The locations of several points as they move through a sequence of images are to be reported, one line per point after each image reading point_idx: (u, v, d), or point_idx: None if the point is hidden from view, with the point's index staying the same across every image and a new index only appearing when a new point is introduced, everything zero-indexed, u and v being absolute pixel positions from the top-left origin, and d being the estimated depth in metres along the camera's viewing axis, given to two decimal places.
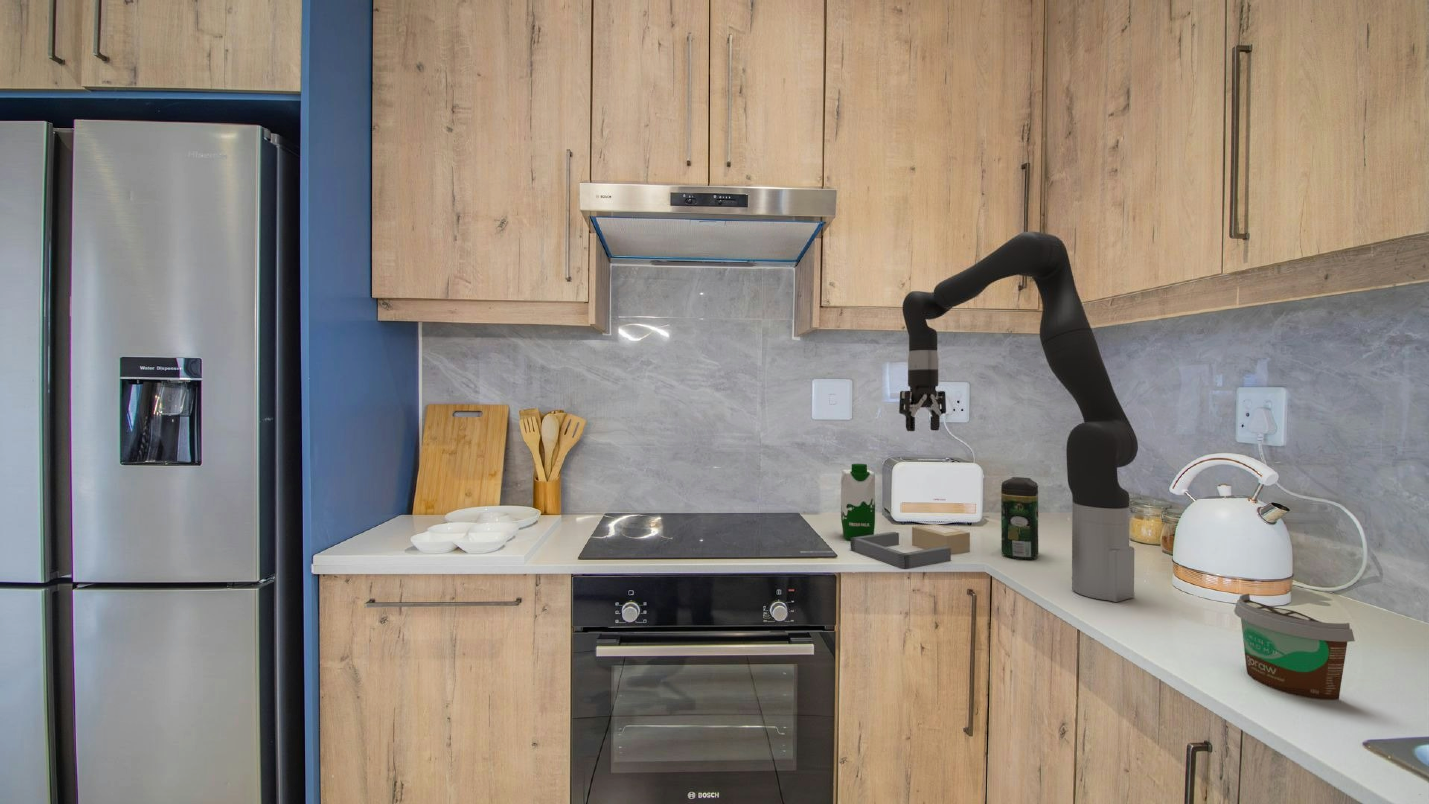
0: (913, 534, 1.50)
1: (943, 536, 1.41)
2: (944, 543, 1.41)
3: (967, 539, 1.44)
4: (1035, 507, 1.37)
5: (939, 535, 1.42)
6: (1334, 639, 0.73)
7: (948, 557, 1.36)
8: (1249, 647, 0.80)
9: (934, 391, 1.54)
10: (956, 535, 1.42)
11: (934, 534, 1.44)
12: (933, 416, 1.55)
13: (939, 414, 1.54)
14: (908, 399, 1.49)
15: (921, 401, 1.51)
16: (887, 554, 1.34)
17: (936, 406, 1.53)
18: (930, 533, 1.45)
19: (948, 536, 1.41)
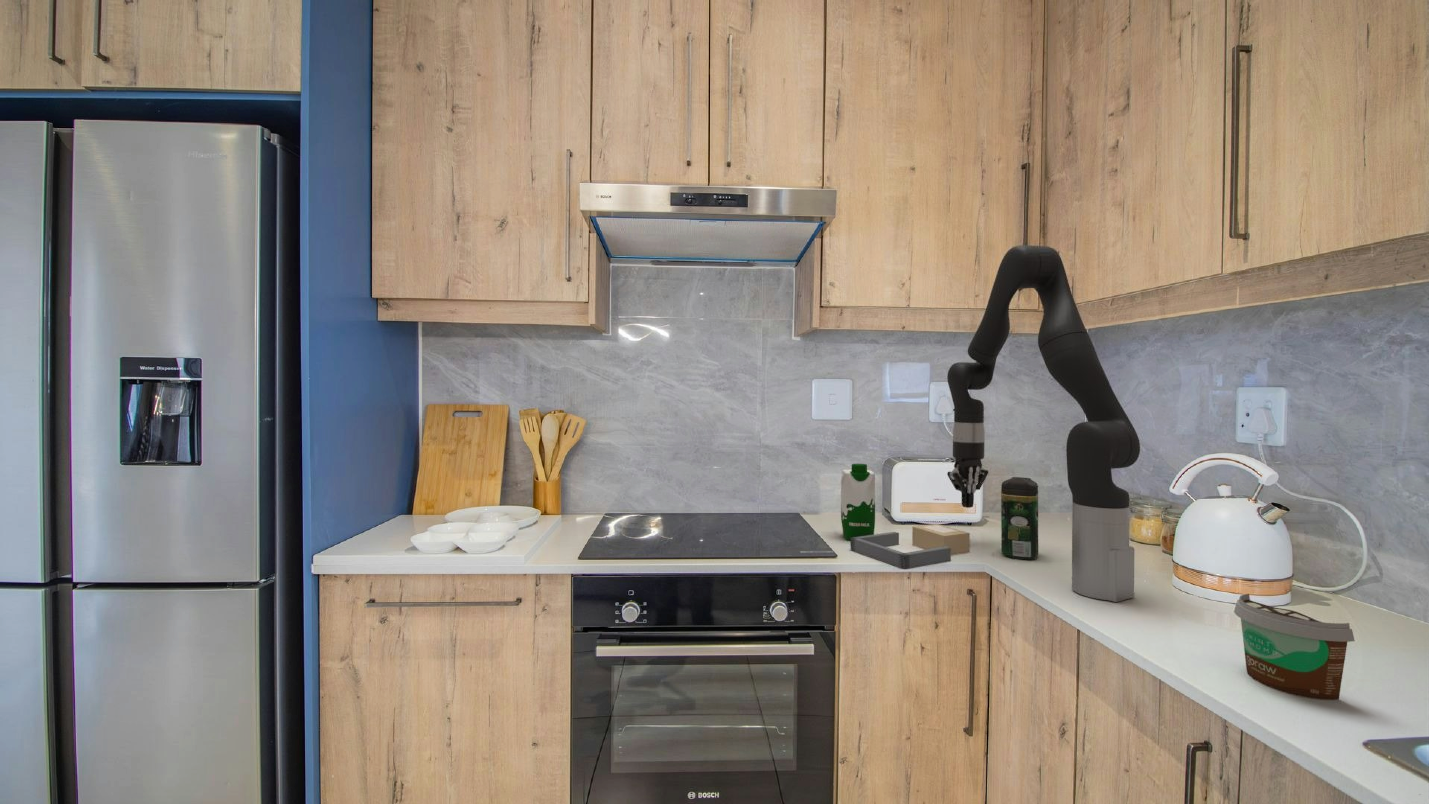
0: (913, 534, 1.50)
1: (941, 536, 1.41)
2: (942, 543, 1.41)
3: (967, 539, 1.43)
4: (1035, 507, 1.37)
5: (937, 535, 1.42)
6: (1334, 639, 0.73)
7: (948, 557, 1.36)
8: (1249, 647, 0.80)
9: (980, 463, 1.52)
10: (955, 535, 1.42)
11: (933, 534, 1.44)
12: None
13: (973, 491, 1.51)
14: (959, 479, 1.49)
15: (970, 475, 1.50)
16: (887, 554, 1.34)
17: (975, 481, 1.51)
18: (929, 533, 1.45)
19: (946, 536, 1.41)
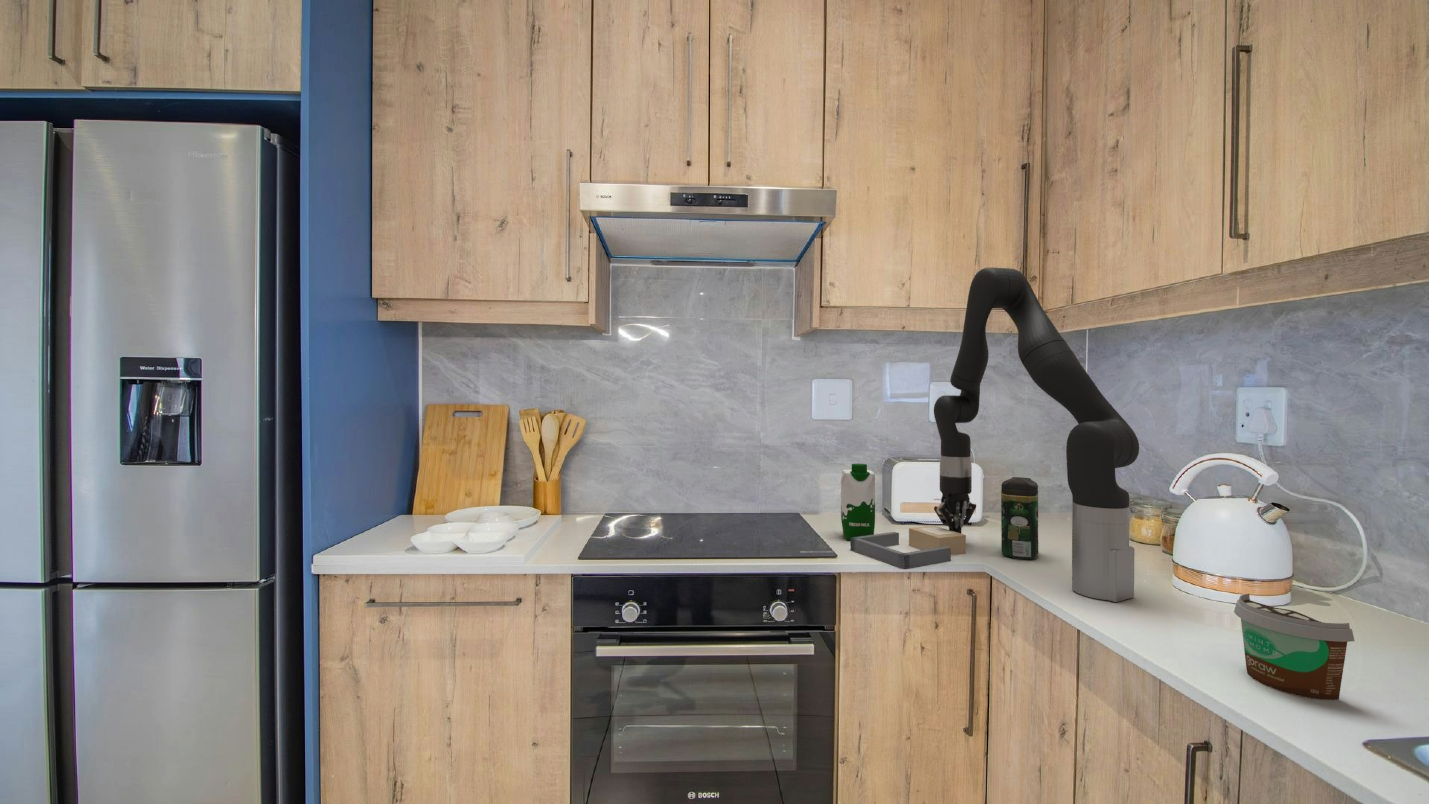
0: (910, 535, 1.50)
1: (936, 538, 1.41)
2: (938, 545, 1.40)
3: (963, 541, 1.42)
4: (1035, 507, 1.37)
5: (933, 537, 1.42)
6: (1334, 639, 0.73)
7: (948, 557, 1.36)
8: (1249, 647, 0.80)
9: (968, 497, 1.50)
10: (950, 537, 1.41)
11: (928, 536, 1.43)
12: None
13: (961, 526, 1.49)
14: (946, 514, 1.46)
15: (957, 510, 1.47)
16: (887, 554, 1.34)
17: (963, 515, 1.48)
18: (925, 535, 1.45)
19: (941, 538, 1.40)
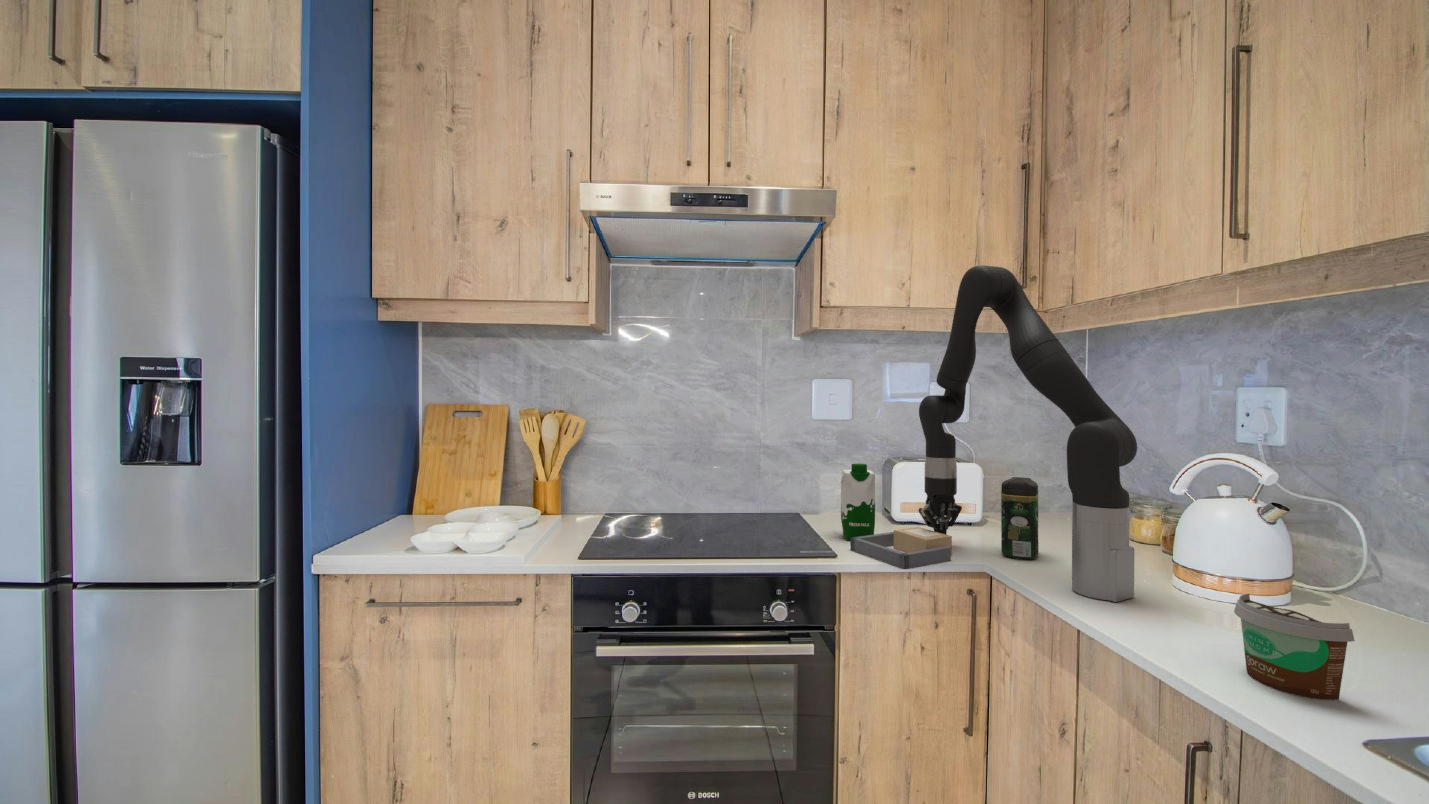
0: (895, 537, 1.47)
1: (923, 540, 1.38)
2: (924, 547, 1.38)
3: (949, 543, 1.40)
4: (1035, 507, 1.37)
5: (919, 539, 1.39)
6: (1334, 639, 0.73)
7: (948, 557, 1.36)
8: (1249, 647, 0.80)
9: (953, 498, 1.48)
10: (937, 539, 1.39)
11: (914, 538, 1.41)
12: None
13: (946, 528, 1.46)
14: (930, 516, 1.44)
15: (942, 512, 1.45)
16: (887, 554, 1.34)
17: (948, 517, 1.46)
18: (911, 537, 1.42)
19: (928, 540, 1.38)
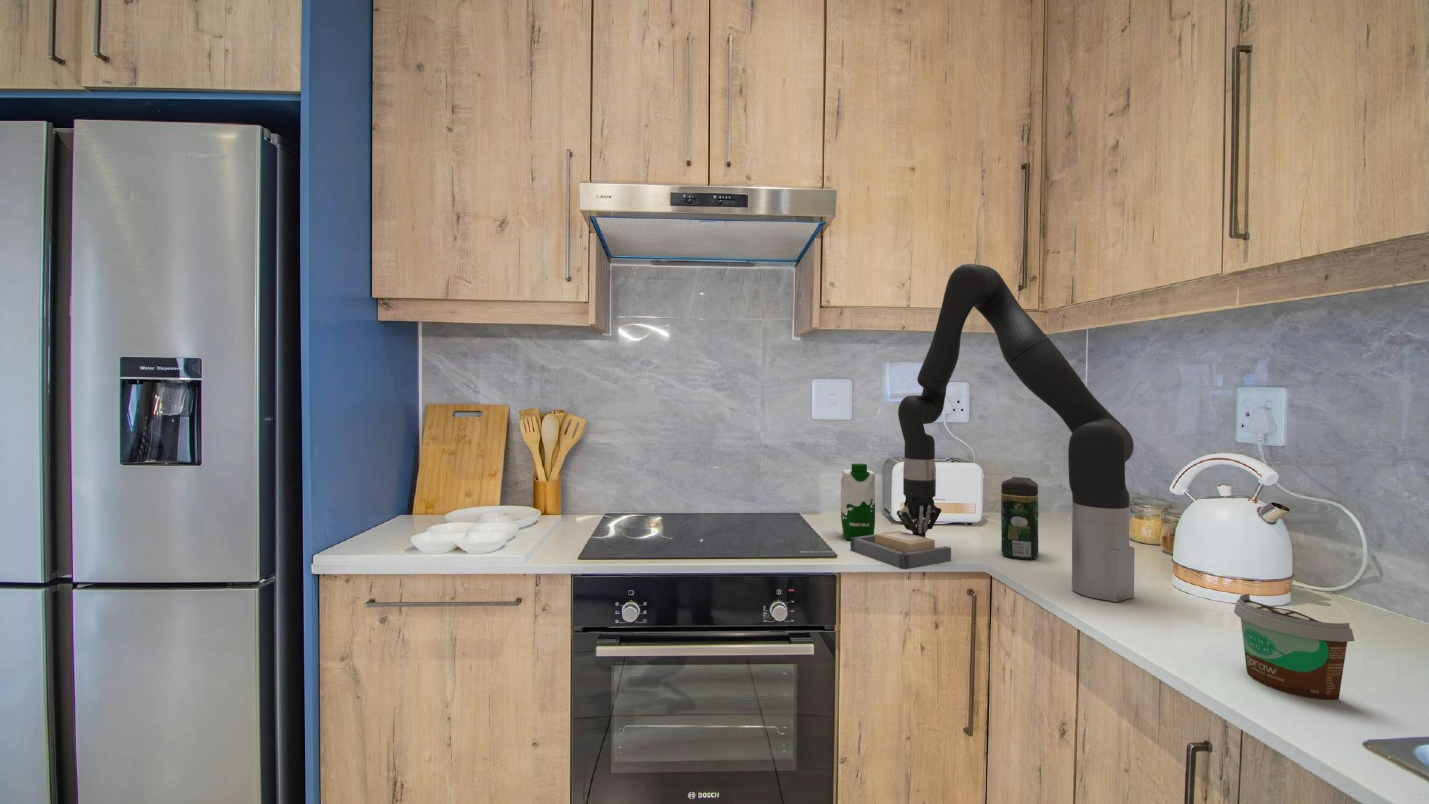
0: (876, 542, 1.42)
1: (907, 544, 1.34)
2: None
3: (932, 547, 1.36)
4: (1035, 507, 1.37)
5: (903, 543, 1.35)
6: (1334, 639, 0.73)
7: (948, 557, 1.36)
8: (1249, 647, 0.80)
9: (932, 501, 1.45)
10: (920, 543, 1.35)
11: (897, 542, 1.36)
12: None
13: (925, 530, 1.43)
14: (909, 519, 1.41)
15: (921, 514, 1.42)
16: (887, 554, 1.34)
17: (927, 520, 1.43)
18: (893, 541, 1.37)
19: (912, 544, 1.33)
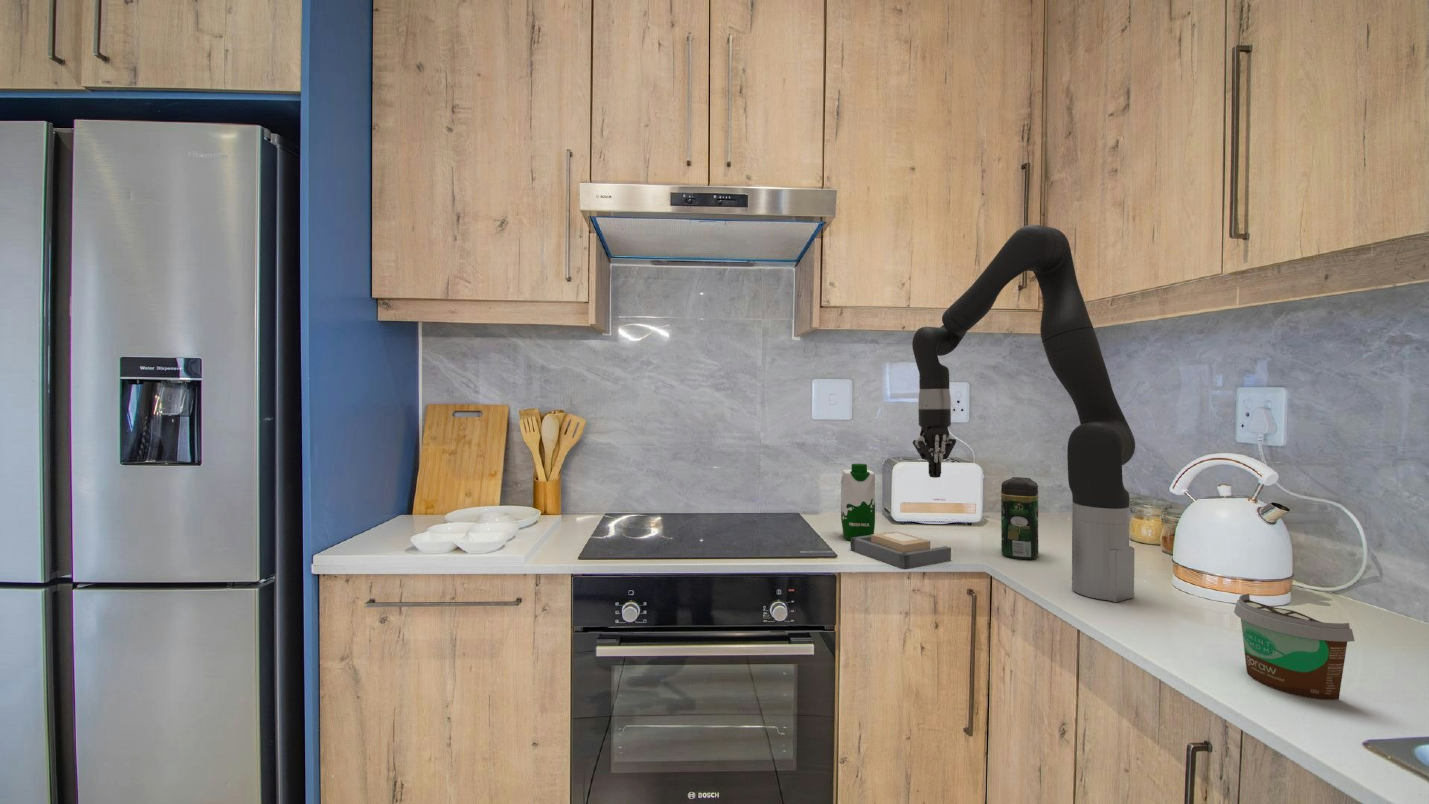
0: (872, 542, 1.42)
1: (901, 545, 1.33)
2: None
3: (927, 548, 1.35)
4: (1035, 507, 1.37)
5: (897, 544, 1.34)
6: (1334, 639, 0.73)
7: (948, 557, 1.36)
8: (1249, 647, 0.80)
9: (948, 431, 1.47)
10: (915, 544, 1.34)
11: (892, 543, 1.35)
12: None
13: (941, 460, 1.45)
14: (925, 448, 1.43)
15: (936, 443, 1.44)
16: (887, 554, 1.34)
17: (942, 449, 1.45)
18: (888, 541, 1.37)
19: (906, 545, 1.33)
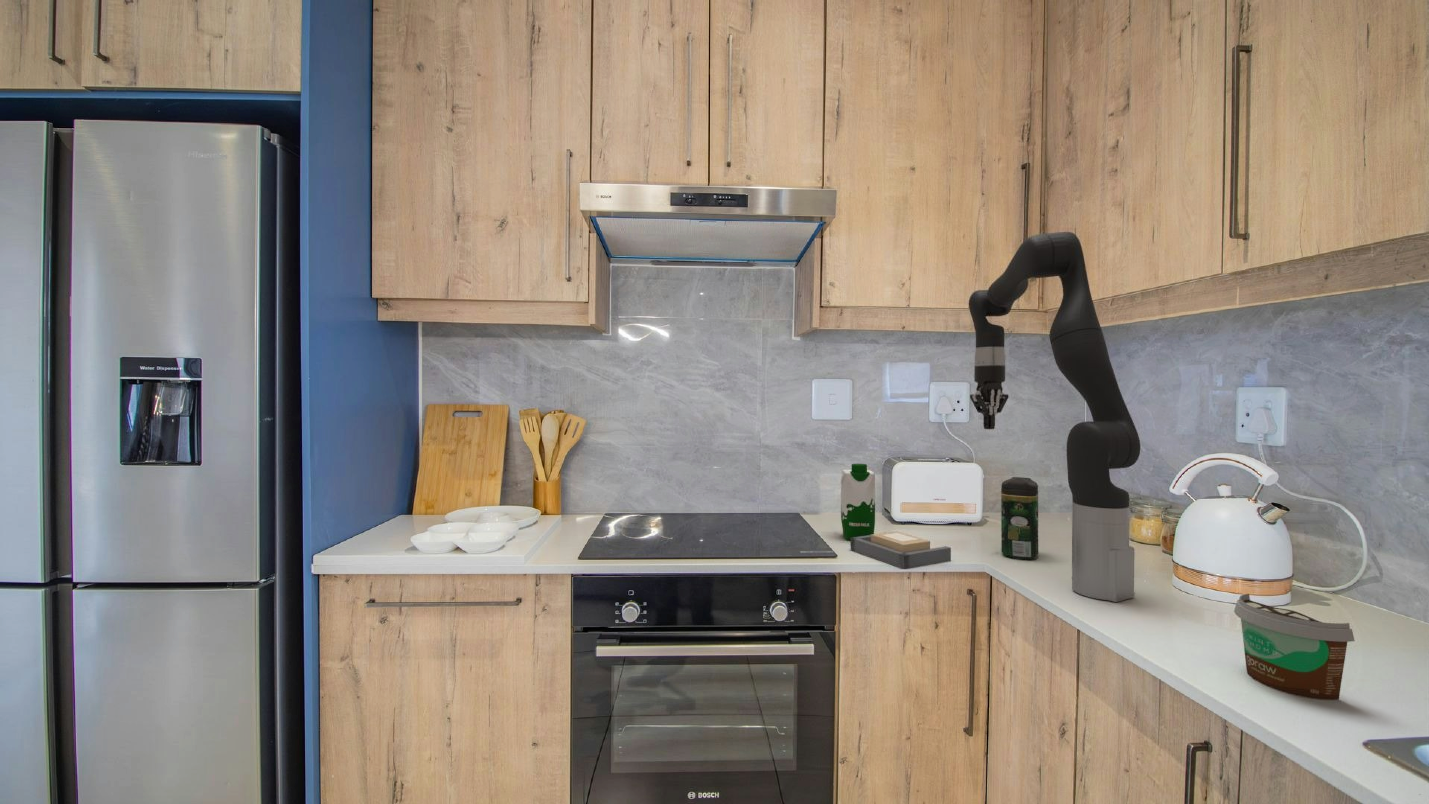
0: (872, 542, 1.42)
1: (900, 545, 1.33)
2: None
3: (927, 548, 1.35)
4: (1035, 507, 1.37)
5: (896, 544, 1.34)
6: (1334, 639, 0.73)
7: (948, 557, 1.36)
8: (1249, 647, 0.80)
9: (1001, 387, 1.58)
10: (915, 544, 1.34)
11: (892, 543, 1.35)
12: None
13: (995, 413, 1.57)
14: (981, 401, 1.55)
15: (992, 397, 1.56)
16: (887, 554, 1.34)
17: (997, 403, 1.57)
18: (888, 541, 1.37)
19: (905, 545, 1.33)
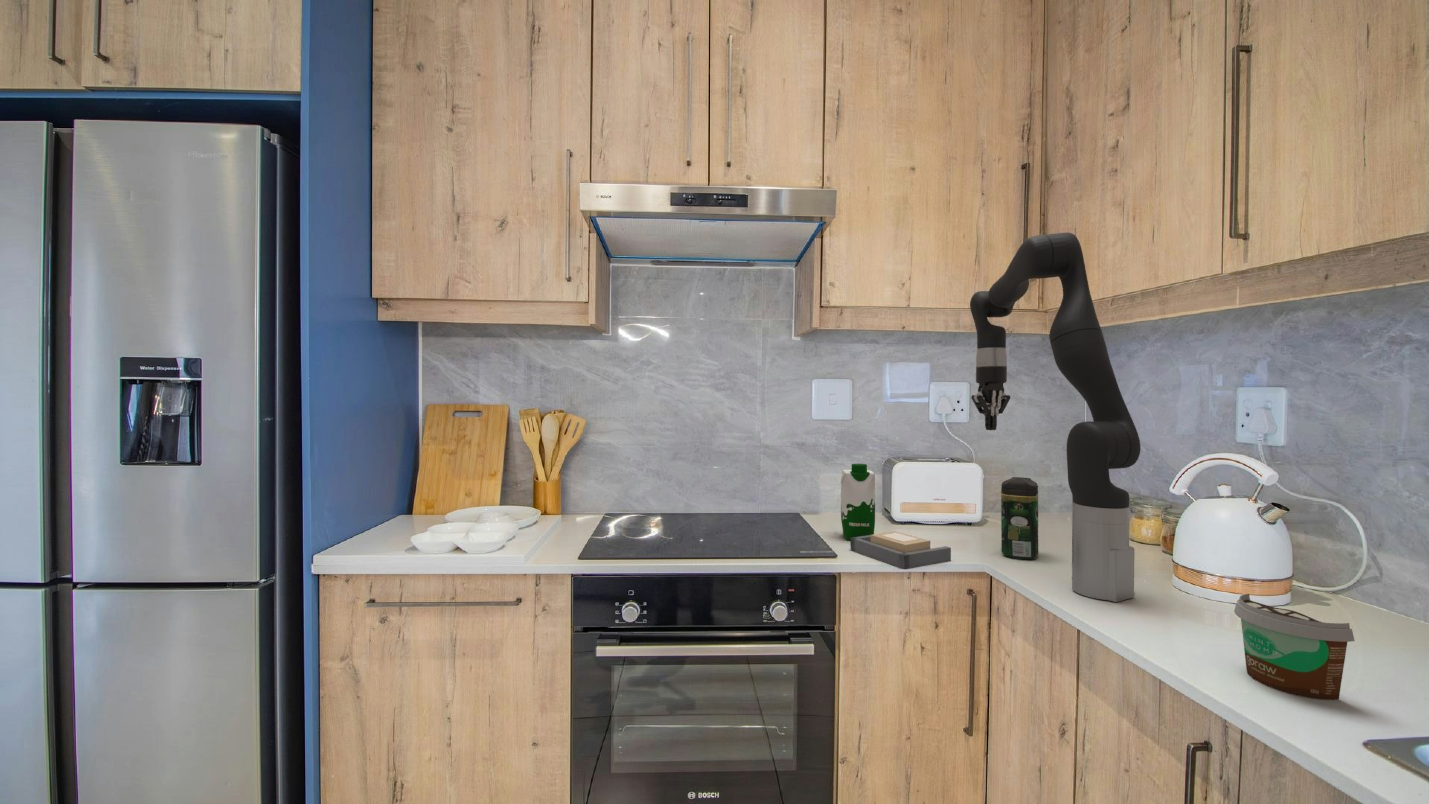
0: None
1: (902, 545, 1.33)
2: None
3: (927, 547, 1.36)
4: (1035, 507, 1.37)
5: (898, 544, 1.34)
6: (1334, 639, 0.73)
7: (948, 557, 1.36)
8: (1249, 647, 0.80)
9: (1003, 388, 1.59)
10: (916, 544, 1.34)
11: (893, 543, 1.35)
12: None
13: (996, 414, 1.57)
14: (983, 402, 1.55)
15: (993, 398, 1.56)
16: (887, 554, 1.34)
17: (998, 404, 1.57)
18: (889, 542, 1.36)
19: (907, 545, 1.32)
